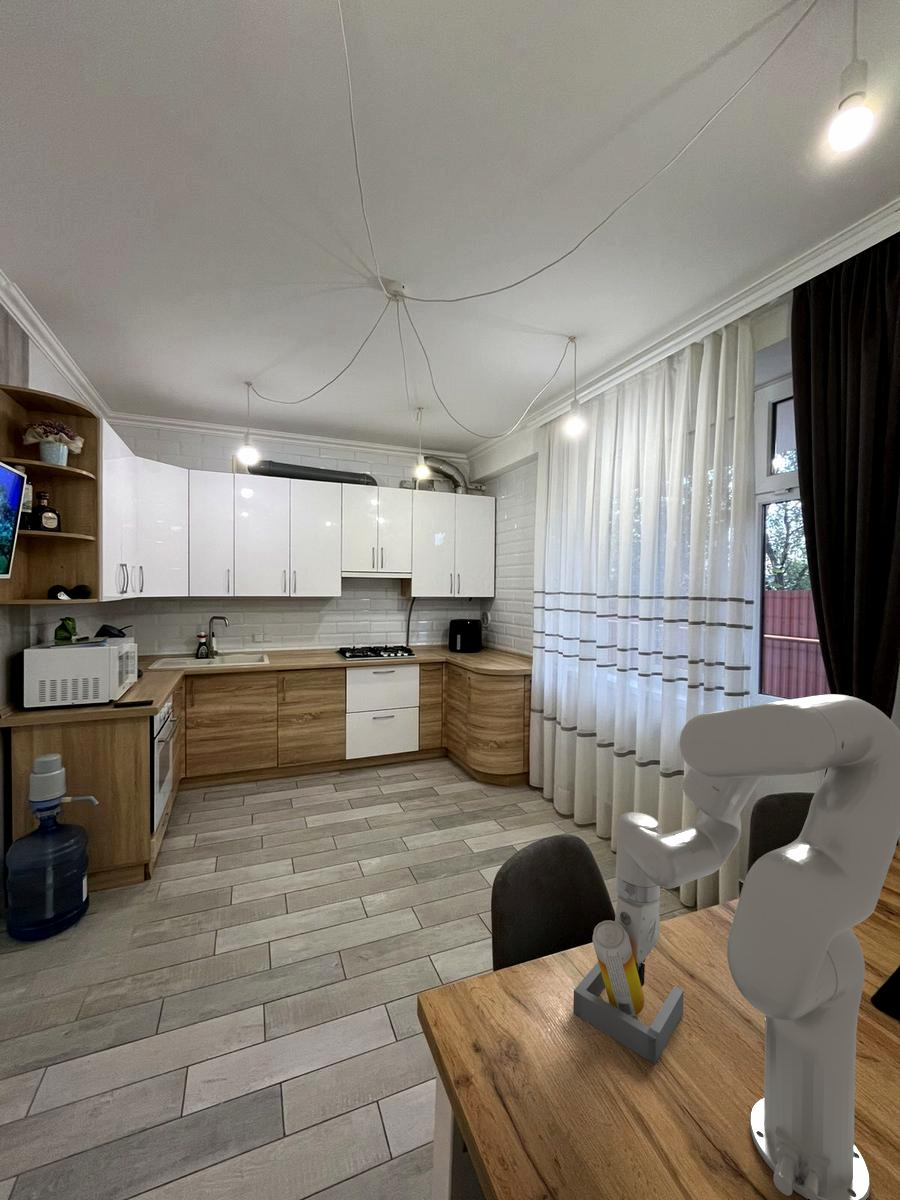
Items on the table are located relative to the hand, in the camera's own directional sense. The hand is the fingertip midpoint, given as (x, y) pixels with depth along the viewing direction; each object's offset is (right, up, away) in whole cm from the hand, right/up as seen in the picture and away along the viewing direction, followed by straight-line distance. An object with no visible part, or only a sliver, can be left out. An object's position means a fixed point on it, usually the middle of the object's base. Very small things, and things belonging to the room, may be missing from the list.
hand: (633, 982), depth 91 cm
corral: (-2, -2, -4) cm, 5 cm away
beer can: (-2, -1, -3) cm, 4 cm away
